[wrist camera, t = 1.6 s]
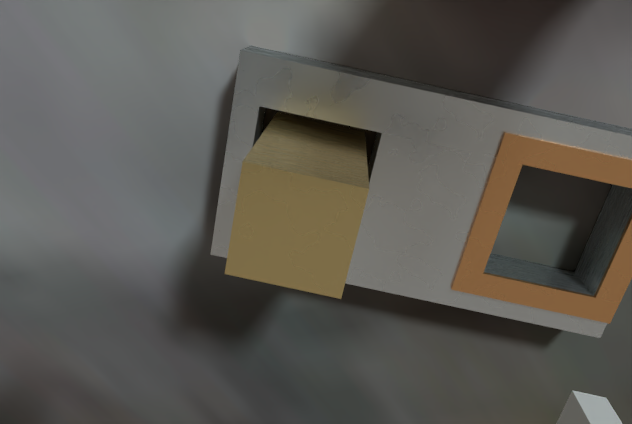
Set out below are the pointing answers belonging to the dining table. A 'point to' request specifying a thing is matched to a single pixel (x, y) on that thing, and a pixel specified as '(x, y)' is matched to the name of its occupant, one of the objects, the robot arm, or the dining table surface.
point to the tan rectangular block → (300, 205)
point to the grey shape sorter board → (448, 188)
